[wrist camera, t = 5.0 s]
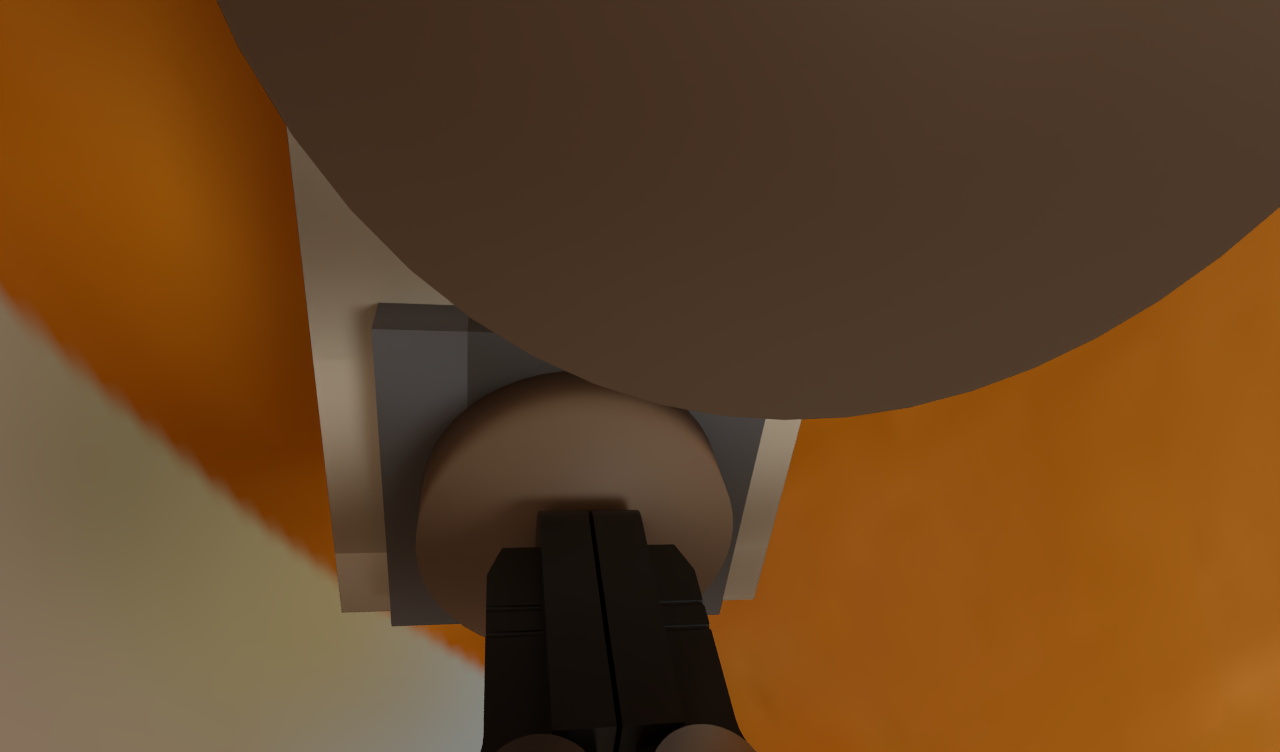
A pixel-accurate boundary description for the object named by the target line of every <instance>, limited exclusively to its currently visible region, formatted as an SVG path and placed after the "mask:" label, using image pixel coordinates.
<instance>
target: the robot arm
mask: <svg viewBox="0 0 1280 752" xmlns="http://www.w3.org/2000/svg"><path fill="white" fill-rule="evenodd" d="M481 752H756V751H755V750H754V749H753V748H752V746H751V745H750V744H749V743H747V741H746V740H745V738H744V737H743V735H742V733H741V731H740V729H739V727H738V724H737V722H736V719H735V715H734V712H733V708H732V704H731V701H730V697H729V693H728V690H727V686H726V682H725V679H724V675H723V671H722V668H721V664H720V660H719V657H718V653H717V649H716V646H715V642H714V638H713V635H712V631H711V629H709V620H708V616H707V613H706V609H705V605H703V598H702V595H701V591H700V587H699V584H698V580H697V576H696V573H695V569H694V568H693V567H692V566H691V564H690V563H689V562H688V561H687V560H686V558H685V557H684V556H683V555H682V553H681V552H680V551H679V550H678V548H677V547H676V546H675V545H674V544H663V545H647V540H646V536H645V531H644V526H643V522H642V517H641V514H640V512H639V510H591V511H590V512H589V516H588V512H587V511H538V514H537V526H536V542H535V547H520V548H502V549H501V551H500V552H499V554H498V556H497V558H496V559H495V561H494V563H493V565H492V567H491V568H490V570H489V572H488V574H487V586H486V636H485V691H484V737H483V745H482V749H481Z"/></svg>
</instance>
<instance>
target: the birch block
mask: <svg viewBox="0 0 1280 752" xmlns="http://www.w3.org/2000/svg"><path fill="white" fill-rule="evenodd" d="M287 135H288V144H289V153H290V161H291V170H292V179H293V188H294V197H295V205H296V214H297V223H298V232H299V240H300V249H301V258H302V267H303V276H304V284H305V293H306V302H307V311H308V320H309V328H310V337H311V346H312V355H313V364H314V372H315V381H316V390H317V399H318V407H319V416H320V425H321V434H322V443H323V451H324V460H325V469H326V478H327V487H328V495H329V504H330V513H331V522H332V531H333V539H334V548H335V557H336V566H337V574H338V583H339V592H340V601H341V610H342V612H374V611H391V624H392V626H410V625H438V624H460V623H459V622H458V621H456V620H455V619H453V618H452V617H451V616H450V615H449V614H448V613H447V612H446V611H445V610H443V609H442V608H441V607H440V606H439V604H438V603H437V602H436V601H435V599H434V598H433V597H432V595H431V594H430V593H429V591H428V589H427V587H426V585H425V583H424V581H423V579H422V576H421V573H420V570H419V567H418V564H417V556H416V532H417V524H418V516H419V508H420V500H421V491H422V483H423V478H424V473H425V469H426V465H427V462H428V460H429V457H430V455H431V452H432V450H433V448H434V447H435V445H436V443H437V442H438V440H439V438H440V437H441V435H442V434H443V433H444V431H445V430H446V429H447V428H448V427H449V425H450V424H451V423H452V422H453V421H454V420H455V419H456V418H457V417H458V416H459V415H460V414H461V413H463V412H464V411H465V410H466V409H467V408H468V407H470V406H471V405H473V404H474V403H475V402H477V401H478V400H480V399H481V398H483V397H484V396H486V395H488V394H490V393H492V392H494V391H496V390H497V389H499V388H501V387H504V386H506V385H509V384H511V383H514V382H516V381H519V380H522V379H526V378H529V377H533V376H537V375H541V374H547V373H554V372H560V371H565V370H562V369H560V368H558V367H556V366H554V365H551V364H549V363H547V362H545V361H543V360H540V359H538V358H536V357H534V356H532V355H530V354H529V353H527V352H525V351H524V350H522V349H521V348H519V347H517V346H516V345H514V344H512V343H511V342H509V341H507V340H506V339H504V338H503V337H501V336H499V335H498V334H496V333H494V332H493V331H491V330H489V329H488V328H486V327H485V326H483V325H481V324H480V323H478V322H476V321H475V320H473V319H471V318H470V317H469V316H468V315H466V314H465V313H464V312H463V311H461V310H460V309H459V308H457V307H456V306H455V305H454V304H452V303H451V302H450V301H449V300H447V299H446V298H445V297H444V296H442V295H441V294H440V293H439V292H437V291H436V290H435V289H433V288H432V287H431V286H430V285H428V284H427V283H426V282H425V281H423V280H422V279H421V278H420V277H418V276H417V275H416V274H415V273H413V272H412V271H411V270H410V269H409V268H408V267H407V266H406V265H405V264H404V263H403V262H402V261H401V260H400V259H399V258H398V257H397V256H396V255H395V254H394V253H393V252H392V251H391V250H390V249H389V248H388V247H387V246H386V245H385V244H384V243H383V242H382V241H381V240H380V239H379V238H378V237H377V236H376V235H375V234H374V233H373V232H372V231H371V230H370V229H369V228H368V227H367V226H366V225H365V224H364V223H363V222H362V221H361V220H360V219H359V218H358V217H357V216H356V215H355V214H354V213H353V212H352V211H351V210H350V209H349V207H348V206H347V205H346V204H345V202H344V201H343V200H342V198H341V197H340V196H339V195H338V193H337V192H336V191H335V189H334V188H333V187H332V186H331V184H330V183H329V182H328V180H327V179H326V178H325V177H324V175H323V174H322V173H321V172H320V170H319V169H318V168H317V166H316V165H315V164H314V163H313V161H312V160H311V159H310V157H309V156H308V155H307V154H306V152H305V151H304V150H303V148H302V147H301V146H300V145H299V143H298V142H297V141H296V140H295V138H294V137H293V136H292V134H291V132H290V131H289V129H288V127H287ZM688 411H689V412H690V413H691V414H692V416H693V417H694V418H695V419H696V420H697V421H698V423H699V424H700V426H701V427H702V429H703V431H704V432H705V434H706V436H707V438H708V440H709V443H710V446H711V448H712V451H713V453H714V456H715V459H716V462H717V465H718V467H719V470H720V473H721V476H722V478H723V481H724V484H725V487H726V490H727V492H728V495H729V498H730V503H731V507H732V512H733V532H732V539H731V544H730V547H729V551H728V554H727V557H726V559H725V561H724V563H723V565H722V567H721V569H720V571H719V573H718V574H717V576H716V577H715V579H714V580H713V582H712V583H711V585H710V586H709V587H708V588H707V589H706V590H705V592H704V593H703V594H702V598H703V605H705V609H706V613H707V615H717V614H719V613H720V609H721V605H722V600H742V599H754V596H755V592H756V588H757V584H758V581H759V577H760V573H761V569H762V566H763V562H764V558H765V554H766V551H767V547H768V543H769V539H770V535H771V532H772V528H773V524H774V520H775V517H776V513H777V509H778V505H779V502H780V498H781V494H782V490H783V487H784V483H785V479H786V475H787V472H788V468H789V464H790V460H791V457H792V453H793V449H794V445H795V442H796V438H797V434H798V430H799V426H800V423H801V419H796V420H776V419H761V418H746V417H731V416H719V415H714V414H708V413H703V412H698V411H692V410H688Z"/></svg>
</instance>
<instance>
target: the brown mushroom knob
mask: <svg viewBox="0 0 1280 752" xmlns="http://www.w3.org/2000/svg"><path fill="white" fill-rule="evenodd" d="M591 510H639V512H640V514H641V517H642V522H643V526H644V531H645V536H646V540H647V545H663V544H674V545H675V546H676V547H677V548H678V550H679V551H680V552H681V553H682V555H683V556H684V557H685V558H686V560H687V561H688V562H689V563H690V564H691V566H692V567H693V568H694V569H695V573H696V576H697V580H698V584H699V587H700V591H701V595H702V594H703V593H704V592H705V590H706V589H707V588H708V587H709V586H710V585H711V583H712V582H713V580H714V579H715V577H716V576H717V574H718V573H719V571H720V569H721V567H722V565H723V563H724V561H725V559H726V557H727V554H728V551H729V547H730V544H731V539H732V532H733V512H732V507H731V503H730V498H729V495H728V492H727V490H726V487H725V484H724V481H723V478H722V476H721V473H720V470H719V467H718V465H717V462H716V459H715V456H714V453H713V451H712V448H711V446H710V443H709V440H708V438H707V436H706V434H705V432H704V431H703V429H702V427H701V426H700V424H699V423H698V421H697V420H696V419H695V418H694V417H693V416H692V414H691V413H690V412H689V411H688V410H687V409H682V408H676V407H671V406H665V405H660V404H656V403H653V402H650V401H647V400H643V399H640V398H637V397H634V396H631V395H627V394H624V393H621V392H618V391H615V390H611V389H608V388H605V387H602V386H599V385H596V384H593V383H591V382H589V381H587V380H585V379H582V378H580V377H578V376H576V375H574V374H571V373H569V372H567V371H560V372H554V373H547V374H541V375H537V376H533V377H529V378H526V379H522V380H519V381H516V382H514V383H511V384H509V385H506V386H504V387H501V388H499V389H497V390H496V391H494V392H492V393H490V394H488V395H486V396H484V397H483V398H481V399H480V400H478V401H477V402H475V403H474V404H473V405H471V406H470V407H468V408H467V409H466V410H465V411H464V412H463V413H461V414H460V415H459V416H458V417H457V418H456V419H455V420H454V421H453V422H452V423H451V424H450V425H449V427H448V428H447V429H446V430H445V431H444V433H443V434H442V435H441V437H440V438H439V440H438V442H437V443H436V445H435V447H434V448H433V450H432V452H431V455H430V457H429V460H428V462H427V465H426V469H425V473H424V478H423V483H422V491H421V500H420V508H419V516H418V524H417V532H416V556H417V564H418V567H419V570H420V573H421V576H422V579H423V581H424V583H425V585H426V587H427V589H428V591H429V593H430V594H431V595H432V597H433V598H434V599H435V601H436V602H437V603H438V604H439V606H440V607H441V608H442V609H443V610H445V611H446V612H447V613H448V614H449V615H450V616H451V617H452V618H453V619H455V620H456V621H458V622H459V623H460V624H462V625H463V626H464V627H466V628H468V629H470V630H472V631H473V632H475V633H477V634H479V635H481V636H484V637H485V636H486V586H487V574H488V572H489V570H490V568H491V567H492V565H493V563H494V561H495V559H496V558H497V556H498V554H499V552H500V551H501V549H502V548H520V547H535V542H536V526H537V514H538V511H587V512H588V516H589V512H590V511H591Z"/></svg>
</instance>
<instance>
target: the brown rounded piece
mask: <svg viewBox="0 0 1280 752" xmlns="http://www.w3.org/2000/svg"><path fill="white" fill-rule="evenodd" d="M217 2H218V4H219V6H220V9H221V11H222V13H223V15H224V17H225V19H226V21H227V24H228V26H229V28H230V30H231V32H232V34H233V36H234V39H235V41H236V43H237V45H238V47H239V49H240V51H241V52H242V54H243V55H244V57H245V59H246V60H247V62H248V64H249V65H250V67H251V69H252V70H253V72H254V73H255V75H256V77H257V78H258V80H259V82H260V83H261V85H262V86H263V88H264V90H265V91H266V93H267V95H268V96H269V98H270V100H271V101H272V103H273V104H274V106H275V108H276V109H277V111H278V113H279V114H280V116H281V118H282V119H283V121H284V122H285V124H286V126H287V127H288V129H289V131H290V132H291V134H292V136H293V137H294V138H295V140H296V141H297V142H298V143H299V145H300V146H301V147H302V148H303V150H304V151H305V152H306V154H307V155H308V156H309V157H310V159H311V160H312V161H313V163H314V164H315V165H316V166H317V168H318V169H319V170H320V172H321V173H322V174H323V175H324V177H325V178H326V179H327V180H328V182H329V183H330V184H331V186H332V187H333V188H334V189H335V191H336V192H337V193H338V195H339V196H340V197H341V198H342V200H343V201H344V202H345V204H346V205H347V206H348V207H349V209H350V210H351V211H352V212H353V213H354V214H355V215H356V216H357V217H358V218H359V219H360V220H361V221H362V222H363V223H364V224H365V225H366V226H367V227H368V228H369V229H370V230H371V231H372V232H373V233H374V234H375V235H376V236H377V237H378V238H379V239H380V240H381V241H382V242H383V243H384V244H385V245H386V246H387V247H388V248H389V249H390V250H391V251H392V252H393V253H394V254H395V255H396V256H397V257H398V258H399V259H400V260H401V261H402V262H403V263H404V264H405V265H406V266H407V267H408V268H409V269H410V270H411V271H412V272H413V273H415V274H416V275H417V276H418V277H420V278H421V279H422V280H423V281H425V282H426V283H427V284H428V285H430V286H431V287H432V288H433V289H435V290H436V291H437V292H439V293H440V294H441V295H442V296H444V297H445V298H446V299H447V300H449V301H450V302H451V303H452V304H454V305H455V306H456V307H457V308H459V309H460V310H461V311H463V312H464V313H465V314H466V315H468V316H469V317H470V318H471V319H473V320H475V321H476V322H478V323H480V324H481V325H483V326H485V327H486V328H488V329H489V330H491V331H493V332H494V333H496V334H498V335H499V336H501V337H503V338H504V339H506V340H507V341H509V342H511V343H512V344H514V345H516V346H517V347H519V348H521V349H522V350H524V351H525V352H527V353H529V354H530V355H532V356H534V357H536V358H538V359H540V360H543V361H545V362H547V363H549V364H551V365H554V366H556V367H558V368H560V369H562V370H565V371H567V372H569V373H571V374H574V375H576V376H578V377H580V378H582V379H585V380H587V381H589V382H591V383H593V384H596V385H599V386H602V387H605V388H608V389H611V390H615V391H618V392H621V393H624V394H627V395H631V396H634V397H637V398H640V399H643V400H647V401H650V402H653V403H656V404H660V405H665V406H671V407H676V408H682V409H687V410H692V411H698V412H703V413H708V414H714V415H719V416H731V417H746V418H761V419H776V420H796V419H818V418H839V417H851V416H857V415H864V414H870V413H877V412H883V411H889V410H896V409H902V408H909V407H913V406H917V405H920V404H924V403H928V402H932V401H936V400H939V399H943V398H947V397H951V396H955V395H958V394H962V393H966V392H970V391H973V390H976V389H978V388H981V387H984V386H987V385H989V384H992V383H995V382H997V381H1000V380H1003V379H1005V378H1008V377H1011V376H1014V375H1016V374H1019V373H1022V372H1024V371H1027V370H1030V369H1032V368H1035V367H1037V366H1039V365H1041V364H1043V363H1045V362H1047V361H1049V360H1051V359H1054V358H1056V357H1058V356H1060V355H1062V354H1064V353H1066V352H1068V351H1070V350H1072V349H1074V348H1076V347H1079V346H1081V345H1083V344H1085V343H1087V342H1089V341H1091V340H1093V339H1095V338H1097V337H1099V336H1100V335H1102V334H1104V333H1106V332H1107V331H1109V330H1111V329H1112V328H1114V327H1116V326H1117V325H1119V324H1121V323H1122V322H1124V321H1126V320H1127V319H1129V318H1131V317H1132V316H1134V315H1136V314H1138V313H1139V312H1141V311H1143V310H1144V309H1146V308H1148V307H1149V306H1151V305H1153V304H1154V303H1156V302H1158V301H1159V300H1161V299H1162V298H1163V297H1165V296H1166V295H1168V294H1169V293H1170V292H1172V291H1173V290H1175V289H1176V288H1177V287H1179V286H1180V285H1182V284H1183V283H1184V282H1186V281H1187V280H1189V279H1190V278H1191V277H1193V276H1194V275H1196V274H1197V273H1198V272H1200V271H1201V270H1203V269H1204V268H1205V267H1207V266H1208V265H1210V264H1211V263H1212V262H1214V261H1215V260H1217V259H1218V258H1219V257H1221V256H1222V255H1223V254H1224V253H1226V252H1227V251H1228V250H1229V249H1230V248H1232V247H1233V246H1234V245H1235V244H1236V243H1237V242H1239V241H1240V240H1241V239H1242V238H1243V237H1245V236H1246V235H1247V234H1248V233H1249V232H1251V231H1252V230H1253V229H1254V228H1255V227H1256V226H1258V225H1259V224H1260V223H1261V222H1262V221H1264V220H1265V219H1266V218H1267V217H1268V216H1269V215H1271V214H1272V213H1273V212H1274V211H1275V210H1277V209H1278V208H1279V207H1280V0H217Z"/></svg>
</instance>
